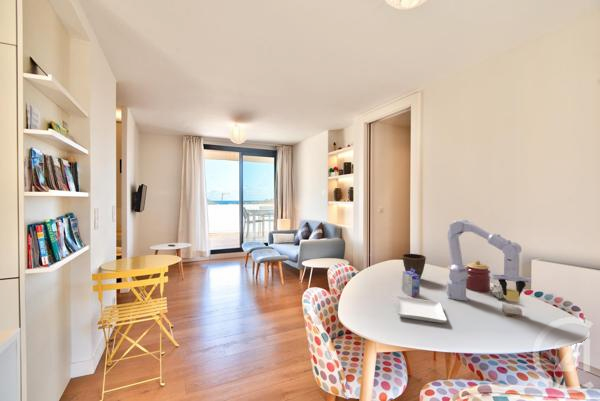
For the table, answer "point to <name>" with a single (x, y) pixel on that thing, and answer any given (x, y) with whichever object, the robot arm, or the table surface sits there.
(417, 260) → the plant pot
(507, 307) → the tower top slab
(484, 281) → the canister
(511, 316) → the tower base slab
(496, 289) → the game die
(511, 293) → the mustard cube
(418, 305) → the salad plate
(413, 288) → the ink cartridge box
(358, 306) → the table surface
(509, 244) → the robot arm
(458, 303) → the table surface
